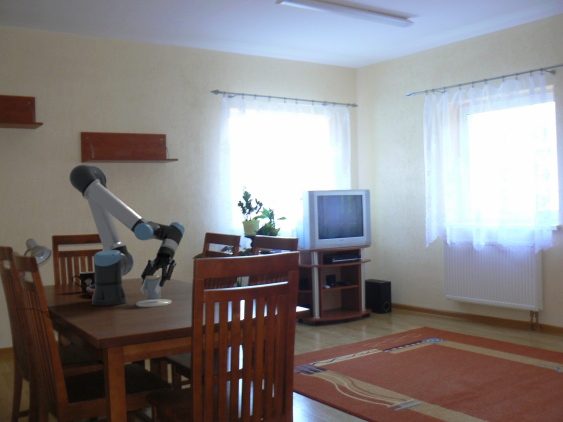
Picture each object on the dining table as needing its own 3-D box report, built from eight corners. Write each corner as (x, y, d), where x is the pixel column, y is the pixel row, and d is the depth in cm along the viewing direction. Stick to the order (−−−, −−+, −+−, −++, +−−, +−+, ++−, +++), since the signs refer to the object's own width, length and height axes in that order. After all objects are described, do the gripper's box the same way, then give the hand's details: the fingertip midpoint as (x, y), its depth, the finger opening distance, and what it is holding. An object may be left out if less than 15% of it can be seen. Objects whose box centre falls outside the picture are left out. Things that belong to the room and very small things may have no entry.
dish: (117, 290, 319) (117, 280, 319) (120, 298, 290) (119, 287, 290) (86, 292, 314) (86, 282, 314) (86, 300, 285) (85, 290, 285)
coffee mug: (99, 290, 320) (99, 271, 320) (93, 292, 312) (92, 273, 311) (78, 290, 321) (78, 271, 321) (71, 293, 313) (70, 273, 313)
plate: (142, 308, 255) (142, 305, 255) (132, 304, 268) (132, 301, 268) (176, 304, 262) (176, 302, 262) (164, 300, 275) (164, 298, 275)
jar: (144, 299, 262) (143, 276, 262) (149, 297, 269) (148, 275, 268) (158, 299, 261) (157, 276, 261) (163, 297, 267) (162, 274, 267)
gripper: (188, 256, 276) (172, 297, 261) (152, 256, 282) (133, 296, 267) (182, 245, 271) (165, 286, 256) (145, 246, 277) (126, 286, 262)
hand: (149, 291), depth 261 cm, fingers closed on jar, 6 cm apart
